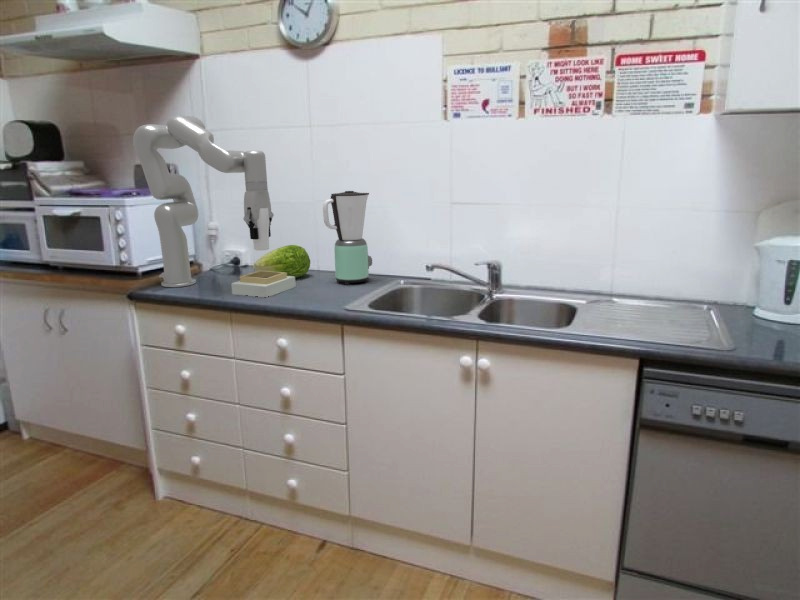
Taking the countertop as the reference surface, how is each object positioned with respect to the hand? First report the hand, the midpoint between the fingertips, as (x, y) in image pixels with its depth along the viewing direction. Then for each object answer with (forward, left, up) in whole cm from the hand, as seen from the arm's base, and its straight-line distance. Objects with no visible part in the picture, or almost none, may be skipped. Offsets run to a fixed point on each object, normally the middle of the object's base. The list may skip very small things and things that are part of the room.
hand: (260, 237), depth 193 cm
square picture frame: (0, 0, -20) cm, 20 cm away
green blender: (+23, +24, -20) cm, 39 cm away
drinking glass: (0, 0, -5) cm, 5 cm away
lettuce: (-9, +23, -20) cm, 32 cm away
